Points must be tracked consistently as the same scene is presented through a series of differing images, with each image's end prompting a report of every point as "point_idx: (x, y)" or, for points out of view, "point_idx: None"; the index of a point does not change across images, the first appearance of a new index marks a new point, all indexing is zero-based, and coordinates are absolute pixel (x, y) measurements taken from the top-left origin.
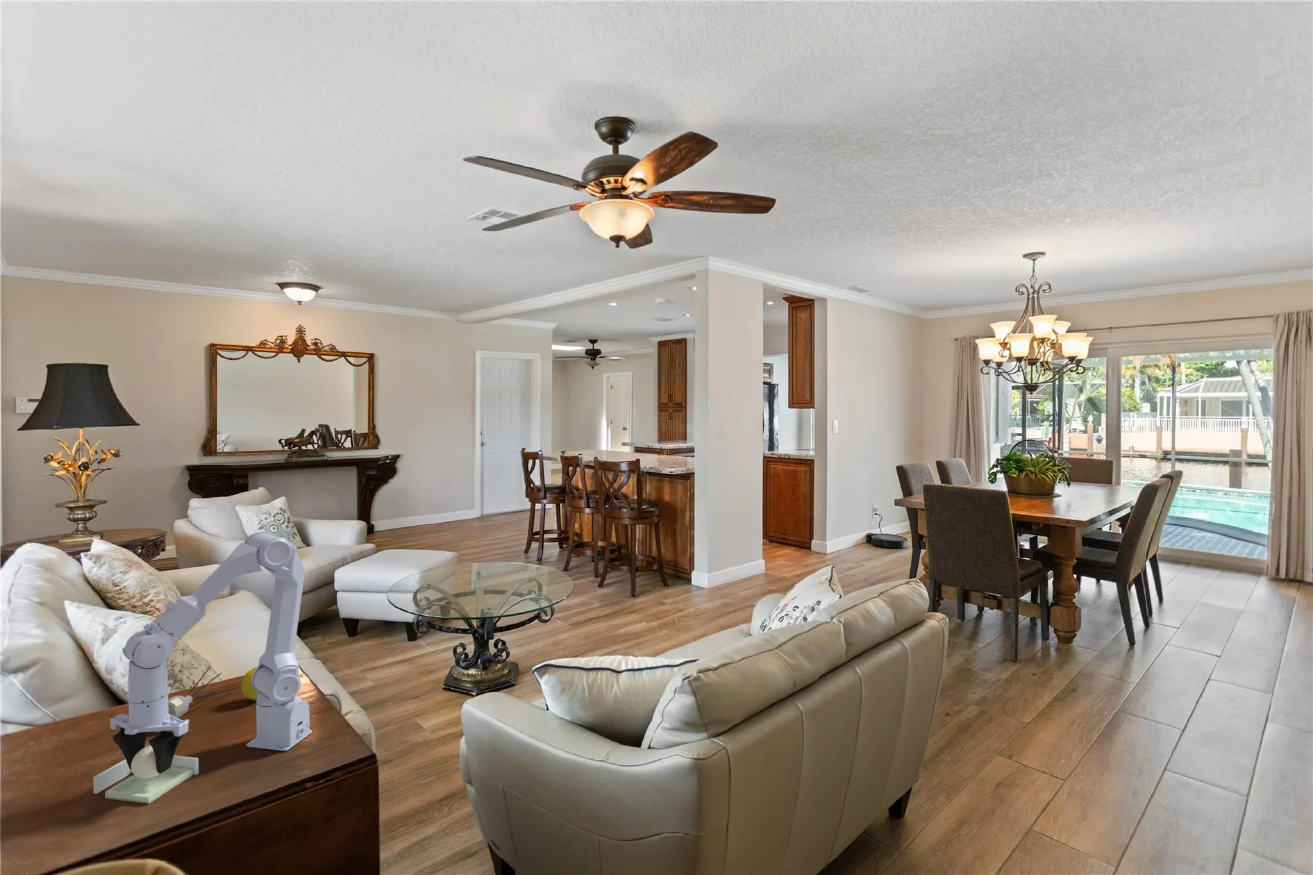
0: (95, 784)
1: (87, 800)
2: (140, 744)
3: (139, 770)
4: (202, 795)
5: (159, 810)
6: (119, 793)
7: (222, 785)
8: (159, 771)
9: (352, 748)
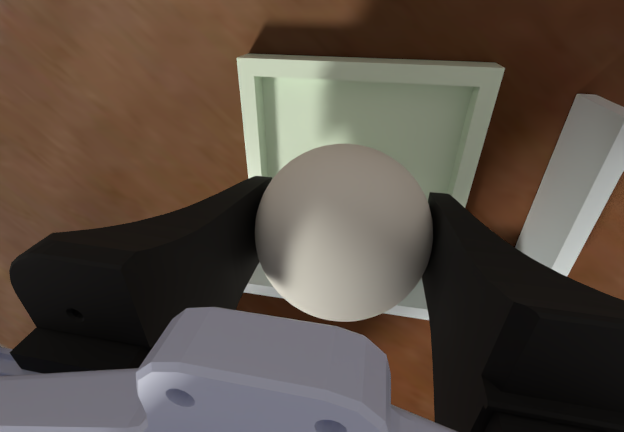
0: (607, 105)
1: (587, 29)
2: (438, 321)
3: (325, 149)
4: (115, 136)
5: (160, 16)
6: (409, 65)
7: (116, 195)
8: (255, 178)
9: (8, 342)
